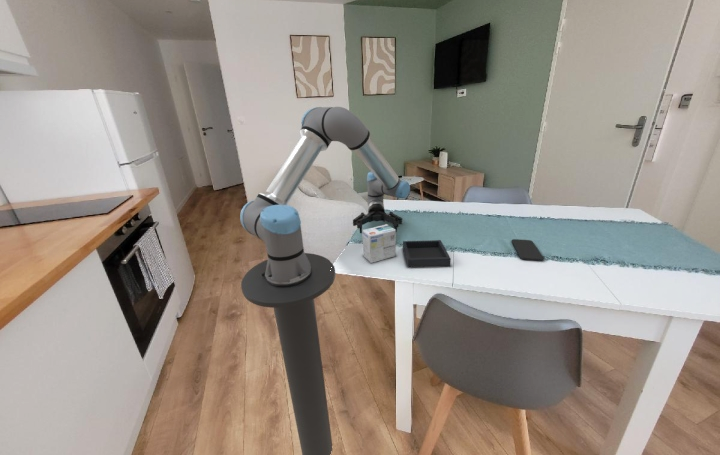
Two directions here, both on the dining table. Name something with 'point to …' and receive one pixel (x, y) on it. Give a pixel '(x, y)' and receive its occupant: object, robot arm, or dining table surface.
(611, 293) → the dining table surface
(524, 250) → the phone
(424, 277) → the dining table surface
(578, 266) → the dining table surface
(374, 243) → the light bulb box
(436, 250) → the pad
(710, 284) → the dining table surface
